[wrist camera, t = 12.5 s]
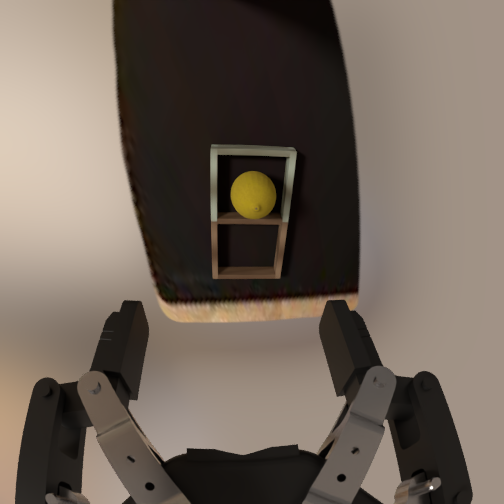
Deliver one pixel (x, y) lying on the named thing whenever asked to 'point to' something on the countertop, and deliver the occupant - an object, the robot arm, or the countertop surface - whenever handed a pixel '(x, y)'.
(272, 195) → the lemon
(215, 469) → the robot arm
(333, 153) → the countertop surface
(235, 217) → the frame
